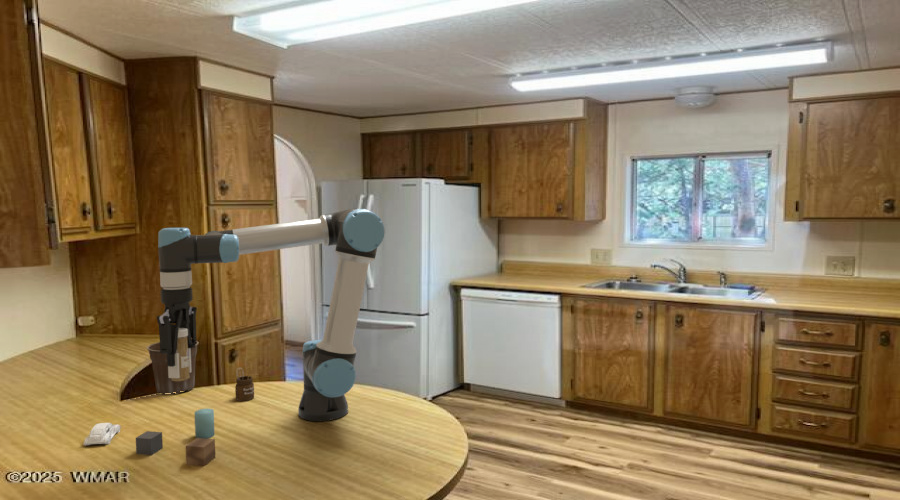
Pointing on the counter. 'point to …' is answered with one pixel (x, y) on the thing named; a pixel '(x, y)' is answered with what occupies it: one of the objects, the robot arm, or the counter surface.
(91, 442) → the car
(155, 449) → the black plastic cube
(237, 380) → the utensil holder
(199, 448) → the walnut block
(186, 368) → the sprinkles bottle
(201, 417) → the teal cylinder
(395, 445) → the counter surface
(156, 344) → the plant pot
